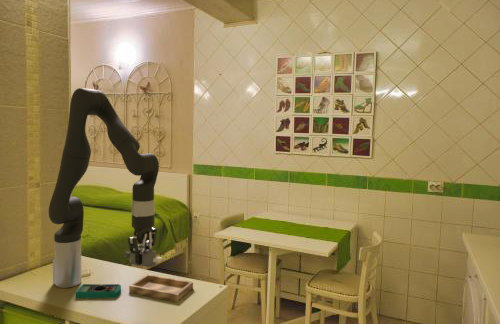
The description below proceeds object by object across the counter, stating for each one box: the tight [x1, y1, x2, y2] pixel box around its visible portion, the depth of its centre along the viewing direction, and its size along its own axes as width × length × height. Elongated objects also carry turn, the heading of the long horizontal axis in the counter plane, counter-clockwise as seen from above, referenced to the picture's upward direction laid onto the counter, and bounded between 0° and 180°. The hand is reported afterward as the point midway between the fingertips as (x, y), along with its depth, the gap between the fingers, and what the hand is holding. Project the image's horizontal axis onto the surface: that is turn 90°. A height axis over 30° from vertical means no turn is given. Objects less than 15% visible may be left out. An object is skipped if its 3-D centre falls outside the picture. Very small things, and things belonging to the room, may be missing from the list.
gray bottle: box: [123, 247, 163, 268], centre depth 134 cm, size 14×4×4 cm, turn 71°
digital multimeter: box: [75, 283, 122, 299], centre depth 143 cm, size 7×15×3 cm, turn 95°
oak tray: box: [128, 273, 194, 303], centre depth 147 cm, size 20×12×3 cm, turn 71°
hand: (142, 261), depth 134 cm, fingers closed on gray bottle, 4 cm apart
